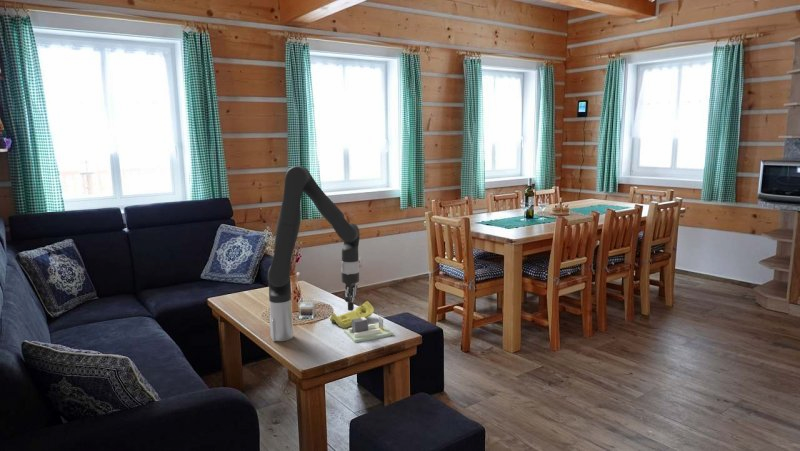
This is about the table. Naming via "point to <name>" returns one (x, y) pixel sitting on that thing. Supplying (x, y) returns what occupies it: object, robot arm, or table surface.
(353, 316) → the plastic component
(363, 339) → the board
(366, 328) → the plug
